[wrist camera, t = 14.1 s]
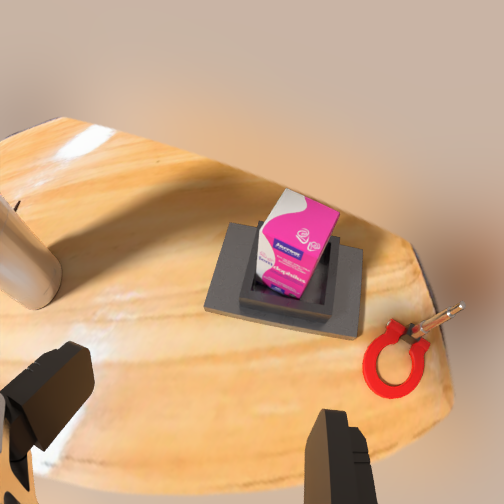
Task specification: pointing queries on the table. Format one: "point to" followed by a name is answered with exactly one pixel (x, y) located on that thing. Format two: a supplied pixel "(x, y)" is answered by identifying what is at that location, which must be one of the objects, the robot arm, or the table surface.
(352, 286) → the socket plate
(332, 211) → the supplement box
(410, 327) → the tow hook
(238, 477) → the table surface
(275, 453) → the table surface
